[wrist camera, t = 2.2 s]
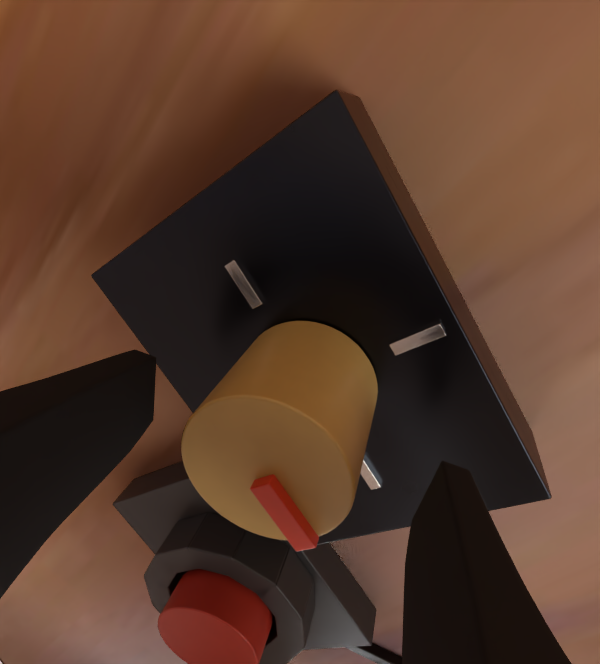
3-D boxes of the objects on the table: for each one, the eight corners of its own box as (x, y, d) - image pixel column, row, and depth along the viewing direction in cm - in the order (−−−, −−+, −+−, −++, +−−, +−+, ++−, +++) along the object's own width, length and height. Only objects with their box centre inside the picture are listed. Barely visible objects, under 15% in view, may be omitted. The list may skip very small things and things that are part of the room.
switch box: (133, 478, 22) (84, 535, 19) (252, 434, 18) (215, 496, 15) (251, 622, 24) (225, 693, 21) (376, 609, 21) (366, 692, 18)
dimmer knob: (221, 351, 13) (138, 437, 9) (332, 296, 11) (282, 375, 8) (290, 452, 14) (239, 564, 10) (403, 415, 12) (388, 536, 9)
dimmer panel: (146, 250, 16) (86, 277, 13) (359, 95, 12) (334, 87, 9) (314, 490, 19) (292, 553, 16) (532, 432, 15) (554, 503, 12)
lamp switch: (161, 574, 19) (137, 613, 18) (234, 560, 17) (214, 602, 16) (217, 639, 20) (199, 681, 19) (292, 632, 18) (278, 679, 17)
